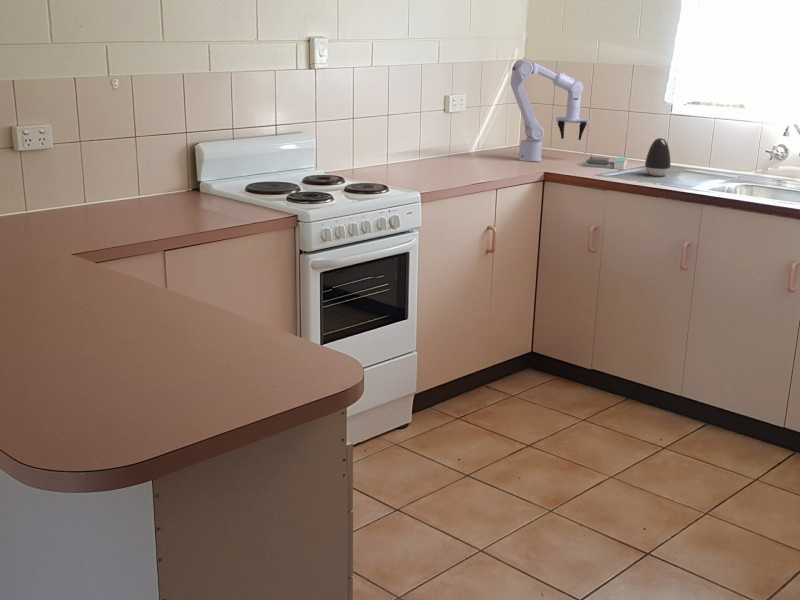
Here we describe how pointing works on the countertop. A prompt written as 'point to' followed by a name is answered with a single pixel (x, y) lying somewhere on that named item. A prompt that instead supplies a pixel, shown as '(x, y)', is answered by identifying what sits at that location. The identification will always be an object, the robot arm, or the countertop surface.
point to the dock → (610, 164)
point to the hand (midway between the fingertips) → (571, 139)
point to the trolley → (598, 160)
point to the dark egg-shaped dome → (658, 158)
